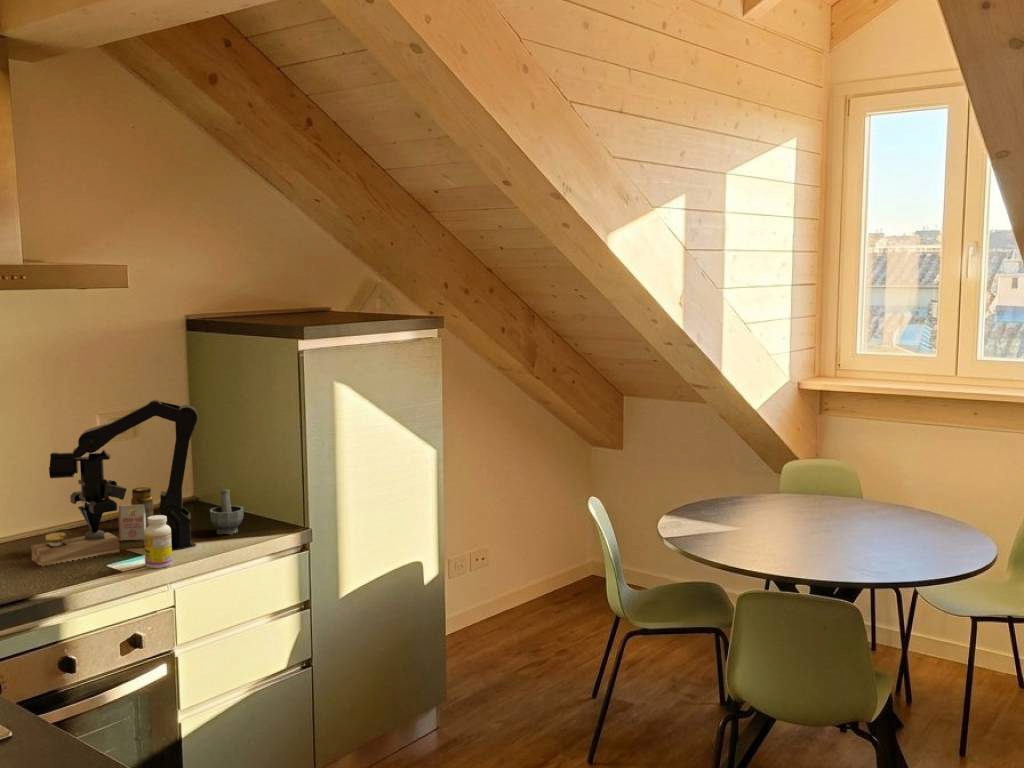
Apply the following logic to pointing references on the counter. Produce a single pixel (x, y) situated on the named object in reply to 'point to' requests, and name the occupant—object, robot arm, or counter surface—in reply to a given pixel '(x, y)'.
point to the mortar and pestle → (226, 515)
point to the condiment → (143, 500)
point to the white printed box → (132, 522)
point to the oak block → (74, 549)
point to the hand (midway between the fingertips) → (94, 532)
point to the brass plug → (55, 539)
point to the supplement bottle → (157, 542)
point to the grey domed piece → (94, 535)
